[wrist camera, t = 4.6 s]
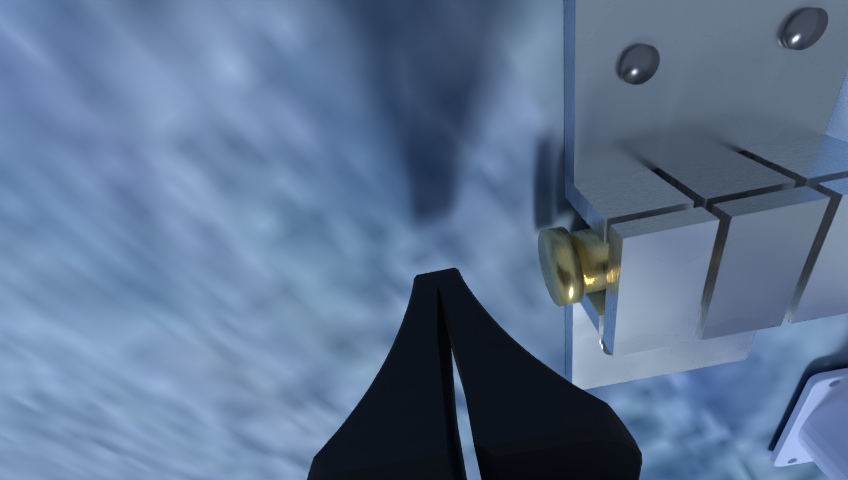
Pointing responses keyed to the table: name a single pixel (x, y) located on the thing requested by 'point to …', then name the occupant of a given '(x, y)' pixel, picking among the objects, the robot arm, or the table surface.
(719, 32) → the hinge
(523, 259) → the table surface
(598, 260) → the pin
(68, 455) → the table surface
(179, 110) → the table surface
